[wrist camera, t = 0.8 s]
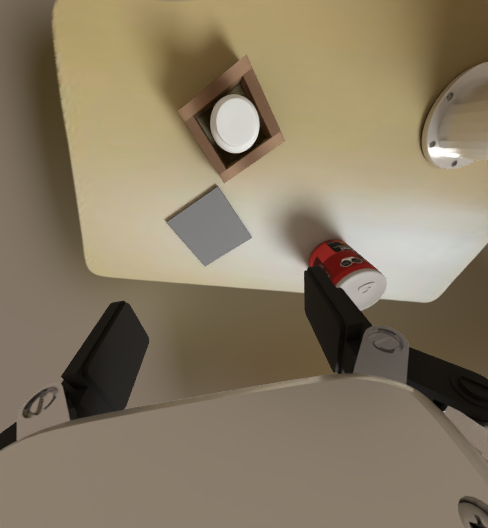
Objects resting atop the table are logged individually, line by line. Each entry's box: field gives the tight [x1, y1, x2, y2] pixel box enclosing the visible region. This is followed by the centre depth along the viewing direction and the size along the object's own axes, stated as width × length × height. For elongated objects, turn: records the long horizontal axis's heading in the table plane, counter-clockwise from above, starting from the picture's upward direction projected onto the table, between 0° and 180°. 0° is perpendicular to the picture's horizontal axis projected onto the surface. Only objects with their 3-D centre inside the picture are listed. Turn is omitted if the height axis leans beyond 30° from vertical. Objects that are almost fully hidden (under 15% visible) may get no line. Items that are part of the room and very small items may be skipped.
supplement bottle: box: [210, 94, 259, 153], centre depth 25 cm, size 5×5×10 cm
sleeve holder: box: [178, 55, 285, 183], centre depth 27 cm, size 9×9×4 cm
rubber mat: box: [166, 186, 252, 266], centre depth 35 cm, size 10×10×1 cm
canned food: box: [309, 240, 387, 311], centre depth 36 cm, size 8×8×11 cm
